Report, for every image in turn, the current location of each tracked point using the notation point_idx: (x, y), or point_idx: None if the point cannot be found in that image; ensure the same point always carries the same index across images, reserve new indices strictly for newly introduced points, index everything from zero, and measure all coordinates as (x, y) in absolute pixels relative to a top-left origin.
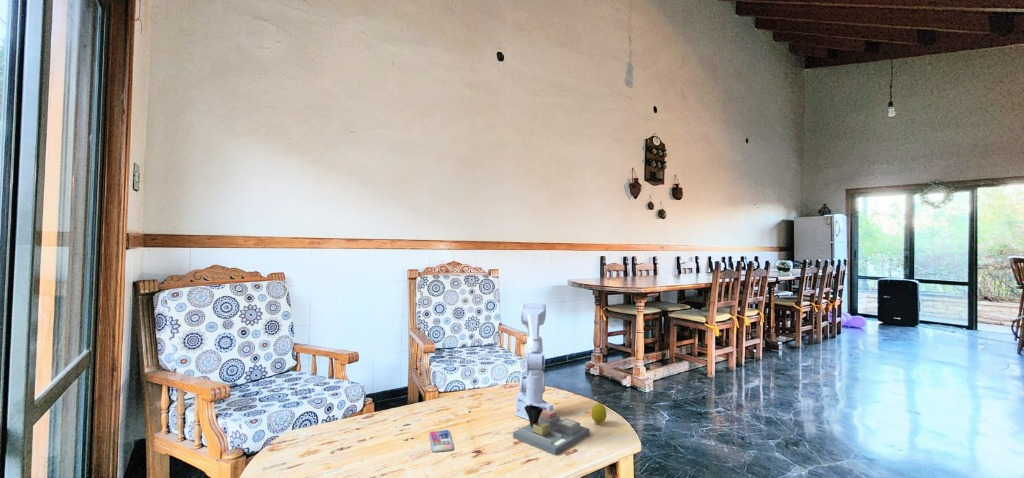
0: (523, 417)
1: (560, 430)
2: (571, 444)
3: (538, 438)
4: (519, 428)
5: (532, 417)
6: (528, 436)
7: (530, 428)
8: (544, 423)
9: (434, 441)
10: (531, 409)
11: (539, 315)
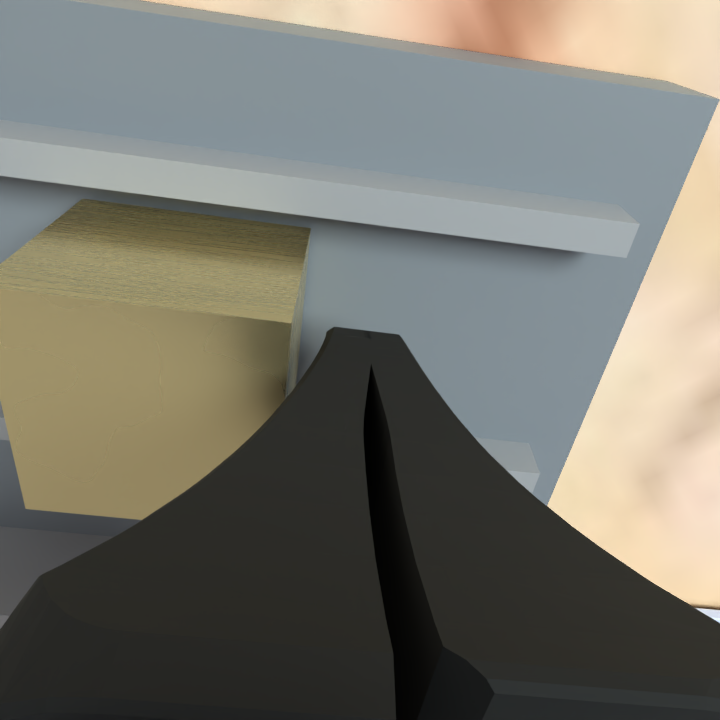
0: (714, 617)
1: (69, 542)
2: None
3: (116, 138)
4: (625, 227)
5: (310, 446)
6: (342, 114)
7: (472, 400)
8: (114, 483)
9: None
10: (215, 698)
11: None
